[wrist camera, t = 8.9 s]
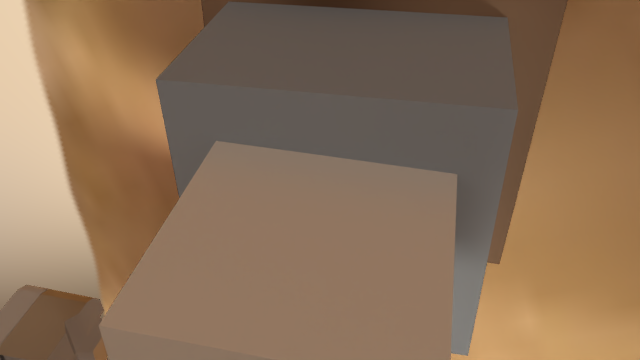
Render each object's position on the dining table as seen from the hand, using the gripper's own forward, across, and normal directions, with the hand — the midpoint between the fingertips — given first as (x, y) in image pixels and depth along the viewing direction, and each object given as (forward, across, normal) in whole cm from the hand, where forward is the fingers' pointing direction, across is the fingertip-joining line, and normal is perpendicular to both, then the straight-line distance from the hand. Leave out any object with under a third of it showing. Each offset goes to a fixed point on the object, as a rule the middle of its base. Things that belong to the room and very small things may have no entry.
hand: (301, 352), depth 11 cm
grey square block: (+8, 0, 0) cm, 8 cm away
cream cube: (+3, 0, 0) cm, 3 cm away
